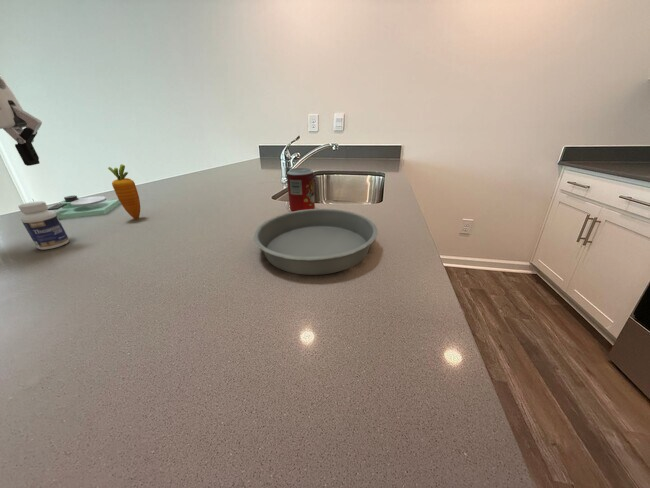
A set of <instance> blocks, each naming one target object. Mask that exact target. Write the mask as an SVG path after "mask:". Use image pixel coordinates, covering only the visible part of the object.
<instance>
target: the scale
mask: <svg viewBox="0 0 650 488" xmlns="http://www.w3.org/2000/svg"><path fill="white" fill-rule="evenodd" d="M77 198H78V200H79V199H83V198H84V197H77ZM64 203H67V205H66V206H64V207H62V208H60V209H58V210H54V212H55V213H56V215H57V217H58V219H59V220H63V219H73V218H82V217H83V218H84V217H91V216H101V215H107V214H108V213H109V212H111V211H112V210H113V209H115V208H116V207H118V206H119V205H120V204H121V203H120V201H119V199H118V198H117V199H109V200H108V199H106V200H105V201H103V202H100V203H97V204H92V205H86V206H72V205H71V202H66V201H65V199H64V200H61V201H59V203H58V204H64Z"/></svg>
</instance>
